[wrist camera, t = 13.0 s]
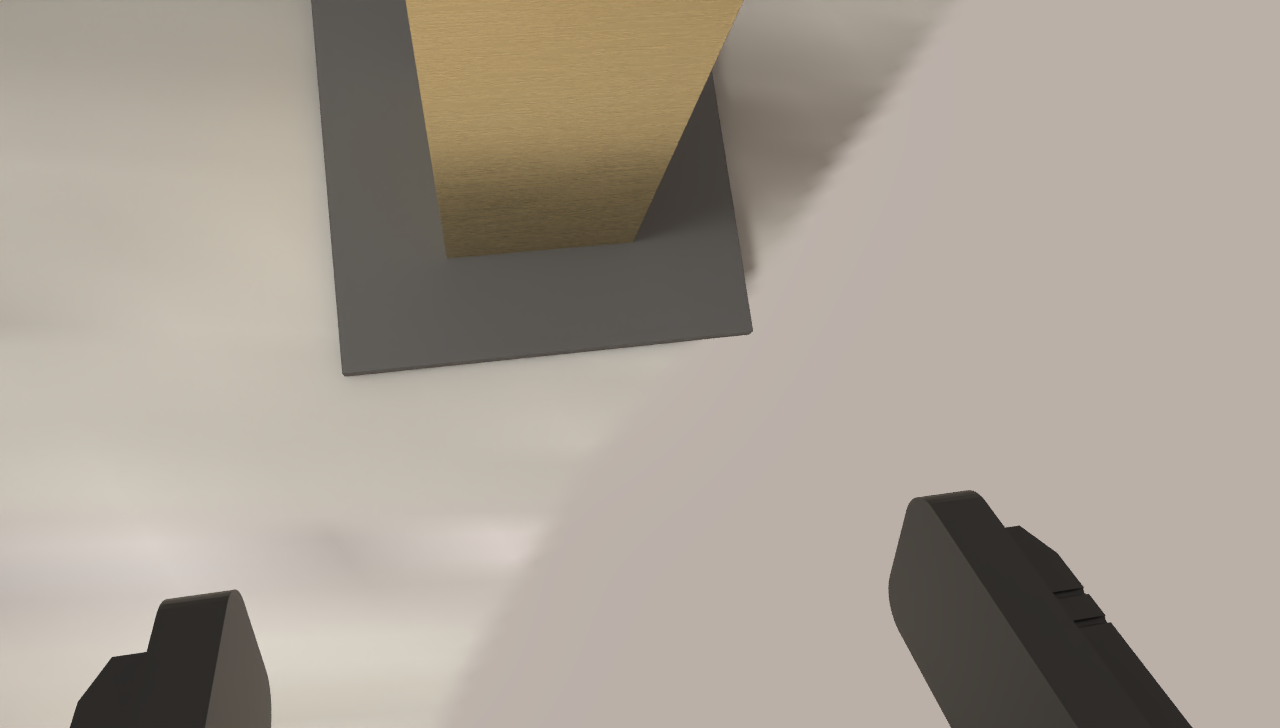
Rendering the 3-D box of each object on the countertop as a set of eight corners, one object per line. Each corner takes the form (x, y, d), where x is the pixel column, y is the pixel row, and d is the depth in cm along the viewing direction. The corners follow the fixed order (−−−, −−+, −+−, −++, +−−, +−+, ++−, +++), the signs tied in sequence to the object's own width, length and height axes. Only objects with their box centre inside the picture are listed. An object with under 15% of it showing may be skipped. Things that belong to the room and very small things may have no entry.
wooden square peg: (446, 258, 23) (384, -130, 10) (428, 83, 24) (347, -496, 11) (632, 242, 24) (806, -138, 11) (608, 72, 25) (742, -478, 11)
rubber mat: (345, 376, 23) (342, 373, 22) (312, -7, 24) (309, -16, 24) (748, 334, 24) (752, 331, 24) (692, -21, 26) (695, -30, 26)
